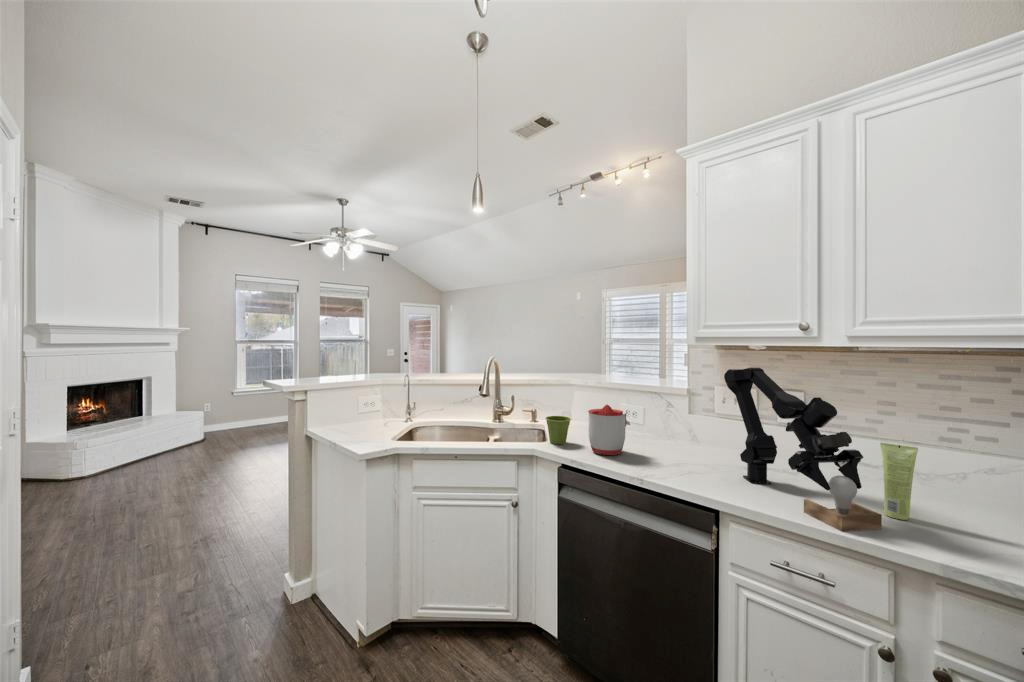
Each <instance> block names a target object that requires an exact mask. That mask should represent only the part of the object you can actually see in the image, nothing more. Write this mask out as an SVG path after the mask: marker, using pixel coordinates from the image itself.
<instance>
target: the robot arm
mask: <svg viewBox="0 0 1024 682" xmlns="http://www.w3.org/2000/svg"><path fill="white" fill-rule="evenodd" d="M723 379H724V382H725V385H726V386H727V388H728V389H729V390H730V391H731V392H732V393H733V394H734V396H735V397H736V401H737V404H738V407H739V411H740V414H741V418H742V420H743V424H744V426H745V429H746V433H747V436H746V439H745V449H744V450H743V451H742V452H741V453H740V455H739V456H740V461H741V462H743V463H746V464H747V468H746V469H747V473H746V474H747V475H743V476H742V478H744V479H745V480H747V481H748V482H750V484H763V485H765V484H766V485H767V484H768V485H771V484H772V481H770V480H769V479H768V465H769V464H770V465H773V464H774V463H775V461H776V457H777V454H778V450H777V448H778V446H777V444H776V441H775V438H774V436H773V435H769V434H767V433H766V432H765V430H764V428H763V424H762V422H761V418H760V416H759V412H758V410H757V407H756V403H755V400H754V397H753V395H752V388H753V385H755V387H756V388H758V390H759V391H760V392H761V393H762V394H763V395H764V396H765V397H766V398H767V399H768V400H769V401H770V402H771V406H772V407H771V408H772V410H773V411H774V412H775V413H776V415H777V416H778V417H779V418H780V419H783V420H789V419H791V422H790V421H789V422H788V421H787V423H786V427H785V432H793V433H794V434H795V436H796V438H797V440H798V442H799V444H798V447H799V449H801V450H797V451H796V452H795V453H794V454H792V455H791V456H790V457H789V458H788V459H787V461H788V462H787V463H788V466H789V467H790V469H791V470H796V472H797V473H800V474H802V475H804V476H806V478H809V479H810V480H811V481H812V482H814V483H816V484H817V485H818V486H820V487H821V488H823V489H824V490H826V491H829V490H830V489H831V488H830V486H829V484H828V482H829V481H828V480H827V478H826V477H825V475H824V474H823V472H822V470H821V469H820V464H821V463H827V464H828V463H833V464H834V465H835V466H836V467H837V471H839V472H840V473H841V474H842V476H845V477H848V478H850V479H851V480H852V481H853V482H854V483H855V484H856V486H857V490H860V489H862V483H861V480H860V474H859V472H858V464H859V463H860V462H862V459H864V455H863V454H862V453H861V452H860V450H857V449H854V448H853V449H843V450H842V451H840V448H844V447H846V448H847V447H848V448H849V447H850V444H852V442H853V441H852V438H851V435H849V434H848V432H847V431H840V432H836V433H835V434H824V433H823V434H822V433H821V432H820V429H821V428H824V427H825V426H826V425H827V424H828V423H830V422H831V421H832V420H833V419H834V418H835V417H836V416H837V415H838V411H837V408H836V407H835V406H834V405H832V404H831V403H829V402H828V401H826V400H823V399H822V398H821V397H818V396H817V397H816V396H815V397H813V398H812V399H811V400H810V402H808V404H806V402H805V401H803V400H802V399H801V398H799V397H797V396H796V395H793V394H790V393H789V392H787V391H785V390H783V388H781V387H780V386H779V385H778V383H776V381H774V380H773V379H772V378H771V377H770V376H769V375H768V374H767V373H765V371H764V369H763V368H761V367H747V368H742V369H741V368H740V369H739V368H738V369H737V368H736V369H735V368H733V369H732V368H731V369H727V370H726V372H725V373H724V378H723ZM792 419H793V420H792ZM802 449H804V450H802ZM839 451H840V452H839ZM837 452H839V453H837ZM835 453H837V454H835Z"/></svg>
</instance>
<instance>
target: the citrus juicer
mask: <svg viewBox="0 0 1024 682" xmlns="http://www.w3.org/2000/svg"><path fill="white" fill-rule="evenodd" d="M587 412H588V439H589V444H590V449H591V451H592V452H593V453H596V454H597V455H599V454H603V456H618V455H620V454H621V453H622V451H623V449H624V445H625V440H626V427H627V426H631V424H630V421H628V420H627V413H624V412H623V410H622V409H621V410H619V409H613V408H612V407H611V406H610V405H609V404H605V405H604V406H603V407H602V408H593V409H589V410H587ZM617 454H618V455H617Z"/></svg>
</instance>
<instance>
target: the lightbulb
mask: <svg viewBox="0 0 1024 682" xmlns="http://www.w3.org/2000/svg"><path fill="white" fill-rule="evenodd" d="M827 482H828V484H829V486H830V488H831V489H830V490H828V492H830V495H831V496H832V498H833V501H834V506H835V509H836V512H837V513H839V514H841V515H843V514H849V509H850V504H851V502H852V501H853V500H854V498H855V497H856V495H857V494H858V489H857V486H856V484H855V483H854V482H853V481H852V480H851V479H850V478H848V477H845V476H844V475H834V476H832V477H830V479H829V480H828V481H827Z"/></svg>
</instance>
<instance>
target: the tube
mask: <svg viewBox="0 0 1024 682" xmlns="http://www.w3.org/2000/svg"><path fill="white" fill-rule="evenodd" d="M879 445H880V451H881V457H882V467H883V468H882V469H883V472H882V473H883V490H884V492H883V494H884V503H883V504H884V515H886V516H888V517H890V518H893V519H897V520H900V521H901V520H902V521H907V520H910V510H911V498H912V488H913V482H914V481H913V479H914V474H915V473H914V472H915V466H916V460H917V454H918V451H919V447H917V446H909V445H902V444H894V443H888V442H880V444H879Z"/></svg>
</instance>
